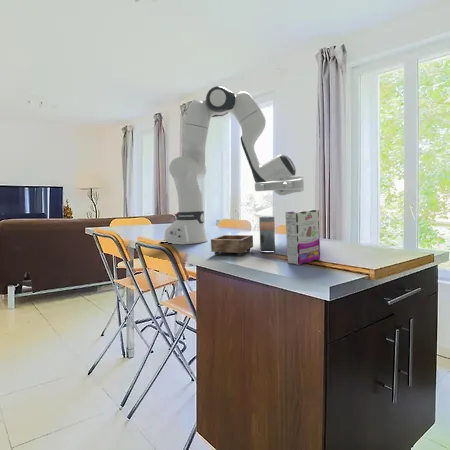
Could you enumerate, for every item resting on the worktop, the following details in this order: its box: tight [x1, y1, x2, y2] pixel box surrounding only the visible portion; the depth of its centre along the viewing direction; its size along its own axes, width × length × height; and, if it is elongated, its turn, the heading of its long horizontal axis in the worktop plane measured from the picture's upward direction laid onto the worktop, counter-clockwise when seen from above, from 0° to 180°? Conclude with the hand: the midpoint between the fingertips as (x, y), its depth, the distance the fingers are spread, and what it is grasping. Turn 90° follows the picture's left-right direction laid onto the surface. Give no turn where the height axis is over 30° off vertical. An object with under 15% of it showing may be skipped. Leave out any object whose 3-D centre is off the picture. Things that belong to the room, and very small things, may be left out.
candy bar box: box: [285, 208, 321, 266], centre depth 114 cm, size 11×5×16 cm, turn 129°
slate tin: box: [258, 216, 276, 252], centre depth 133 cm, size 6×6×13 cm
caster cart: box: [210, 234, 254, 257], centre depth 134 cm, size 12×12×6 cm
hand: (273, 186), depth 142 cm, fingers open, 8 cm apart
